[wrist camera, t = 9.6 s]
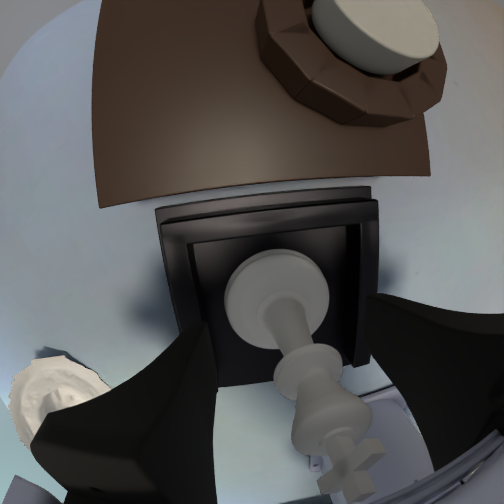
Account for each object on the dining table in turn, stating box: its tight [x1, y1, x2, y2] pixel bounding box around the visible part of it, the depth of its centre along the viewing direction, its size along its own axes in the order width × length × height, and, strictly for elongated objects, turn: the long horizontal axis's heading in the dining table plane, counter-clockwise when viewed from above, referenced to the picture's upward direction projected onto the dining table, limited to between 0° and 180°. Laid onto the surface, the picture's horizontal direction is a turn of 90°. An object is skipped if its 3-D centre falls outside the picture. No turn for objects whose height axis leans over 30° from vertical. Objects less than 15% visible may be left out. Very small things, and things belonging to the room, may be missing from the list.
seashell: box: [8, 355, 111, 451], centre depth 12 cm, size 8×5×8 cm
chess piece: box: [224, 249, 387, 504], centre depth 8 cm, size 5×5×10 cm
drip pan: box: [155, 186, 379, 392], centre depth 12 cm, size 10×10×2 cm
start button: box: [311, 0, 439, 75], centre depth 5 cm, size 4×4×2 cm
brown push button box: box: [92, 0, 447, 208], centre depth 8 cm, size 10×12×6 cm
